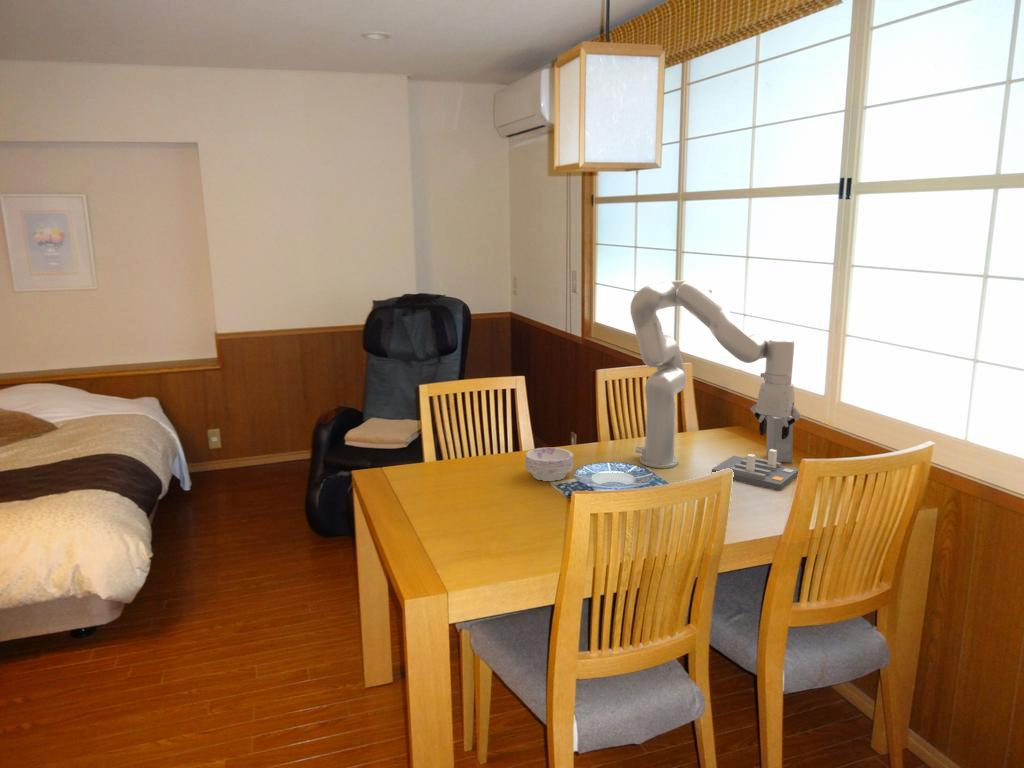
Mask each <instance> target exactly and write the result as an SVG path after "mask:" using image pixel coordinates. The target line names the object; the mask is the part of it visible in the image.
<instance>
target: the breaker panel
mask: <svg viewBox="0 0 1024 768" xmlns="http://www.w3.org/2000/svg"><path fill="white" fill-rule="evenodd" d="M746 462H747V456H746V457H742V456H737V455H732V456H730V457H729V458H727V459H726V460H724V461H722V462H721V463H720V464H717V465H716V466H715V467H712V469H711V473H712V472H716V471H720V470H722V469H726V468H730V469H732V470H733V472H734V477H733V480H732V481H735V480H736V482H740V481H741V482H740V483H744V482H745V483H744V484H748V483H749V485H753V486H756V487H757V486H758V487H762V488H766V489H770V490H775V491H778V492H779V491H781V490H783V489H785V487H786V486H789V484H790V483H791V482H792V481H794V480H795V479H796V478H797V477H798V476H797V474H798V470H799V471H800V468H795V467H790V466H785V465H782V462H776V466H771V465H768V459H764V458H760V457H759V458H758V457H755V471H754V472H753V471H748V470H746Z"/></svg>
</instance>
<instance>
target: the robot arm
mask: <svg viewBox="0 0 1024 768" xmlns="http://www.w3.org/2000/svg"><path fill="white" fill-rule="evenodd" d="M712 293H713V292H712V287H711V285H710V284H709V282H708V281H706V280H705V279H702V278H692V279H683V280H682V279H681V280H669V281H668V280H667V281H661V282H655V283H651V284H648V285H646V286H643V287H642V288H641V289H639V290H638V291H637V292H636V294H634V296H633V297H632V300H631V302H630V317H631V320H632V323H633V327H634V331H635V335H636V341H637V345H638V347H639V352H640V357H641V360H642V362H643V364H645V365H646V366H647V367H648V368H656V371H654V372H653V373H652V374H650V375H649V376H648V378H647V379H646V381H645V385H644V394H645V400H646V401H645V402H646V404H645V405H646V415H645V416H646V417H645V419H646V421H645V422H646V423H645V444H644V445H645V446H642V445H636V446H635V453H637V454H641V456H640V459H639V461H640V463H641V464H642V465H644V466H647V467H650V468H654V469H655V468H656V469H670V468H674V467H676V466H678V464H679V459H678V458H677V456H675V440H676V439H675V437H676V436H675V435H676V419H677V418H676V415H677V413H676V411H677V410H676V402H675V395H677V394H678V393H680V392H682V391H683V390H684V388H685V387H686V384H687V373H686V370H685V365H684V361H683V357H682V353H681V349H680V346H679V344H678V343H677V341H676V339H675V338H673V337H672V336H671V335H667V334H664V332H663V328H662V324H661V321H660V319H659V317H658V315H657V311H659V310H663V309H666V308H672V307H683V308H684V309H685V310H687V311H688V312H689V313H690V314H692V315H693V316H694V317H695V318H696V319H697V320H698V321H700V322H701V323H702V324H703V325H704V326H706V327H707V328H708V329H709V331H710V332H711V334H712V335H713V336H714V338H715V339H716V340H717V342H718V343H719V344H720V346H722V347H723V348H724V349H725V350H726V351H727V352H728V353H730V354H731V355H732V356H733V357H734V358H736V359H737V360H739V361H740V362H743V363H746V364H752V363H754V362H757V361H759V360H761V359H766V360H765V371H764V372H761V373H760V377H761V378H763V381H761V383H760V387H759V391H758V397H757V402H756V403H755V404H753V405H752V406H751V407H750V408H749V409H750V411H751V412H752V413H753V415H754V417H756V419H757V421H758V423H759V427H758V432H760V434H759V435H760V436H764V435H765V434H766V435H767V416H772V417H778V418H782V419H783V423H784V426H783V427H782V437H781V438H782V439H785V438H787V437H788V436H789V428H790V425H791V424H792V423H793V424H794V423H796V422H797V421H798V420H799V419H801V418H802V417H803V416H802V414H801V412H800V411H799V410H798V409H797V407H795V402H796V401H795V390H794V383H792V376H793V363H794V352H795V351H794V350H795V341H794V340H793V339H791V338H790V337H783V336H781V337H780V336H770V335H766V334H761V333H760V334H759V333H755V334H752V335H748V334H746V332H744V331H742V329H741V328H740V327H738V325H736V323H735V322H734V321H733V318H732V316H731V310H730V308H729V307H728V306H727V305H726V304H725V303H723V301H721V300H720V299H718V297H716V296H715V295H714V294H712ZM793 415H794V416H793ZM790 416H793V418H792V419H791V420H790Z"/></svg>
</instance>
